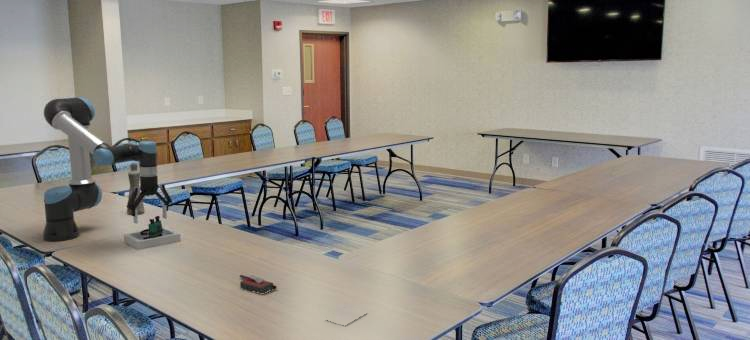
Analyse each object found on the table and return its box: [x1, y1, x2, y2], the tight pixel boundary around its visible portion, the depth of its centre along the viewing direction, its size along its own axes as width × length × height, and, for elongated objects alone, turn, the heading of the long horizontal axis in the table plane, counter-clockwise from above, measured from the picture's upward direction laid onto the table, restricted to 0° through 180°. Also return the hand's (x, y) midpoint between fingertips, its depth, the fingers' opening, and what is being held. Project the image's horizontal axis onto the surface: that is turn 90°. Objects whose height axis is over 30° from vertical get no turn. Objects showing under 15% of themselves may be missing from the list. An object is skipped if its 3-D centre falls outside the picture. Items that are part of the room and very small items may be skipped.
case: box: [123, 226, 181, 250], centre depth 277 cm, size 16×20×4 cm
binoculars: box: [140, 215, 163, 240], centre depth 276 cm, size 9×11×10 cm
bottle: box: [126, 162, 145, 215], centre depth 326 cm, size 9×9×28 cm
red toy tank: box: [239, 274, 277, 294], centre depth 223 cm, size 9×4×20 cm
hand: (150, 220), depth 276 cm, fingers open, 13 cm apart
